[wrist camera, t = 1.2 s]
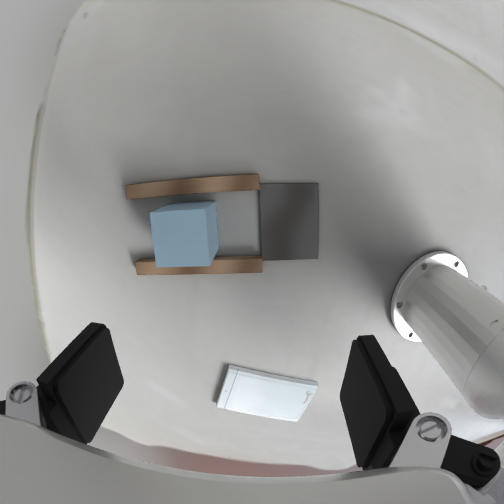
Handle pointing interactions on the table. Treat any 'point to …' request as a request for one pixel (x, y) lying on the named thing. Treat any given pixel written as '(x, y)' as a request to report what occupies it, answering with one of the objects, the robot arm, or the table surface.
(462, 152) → the table surface
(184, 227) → the block
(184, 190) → the guide channel
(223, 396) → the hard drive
